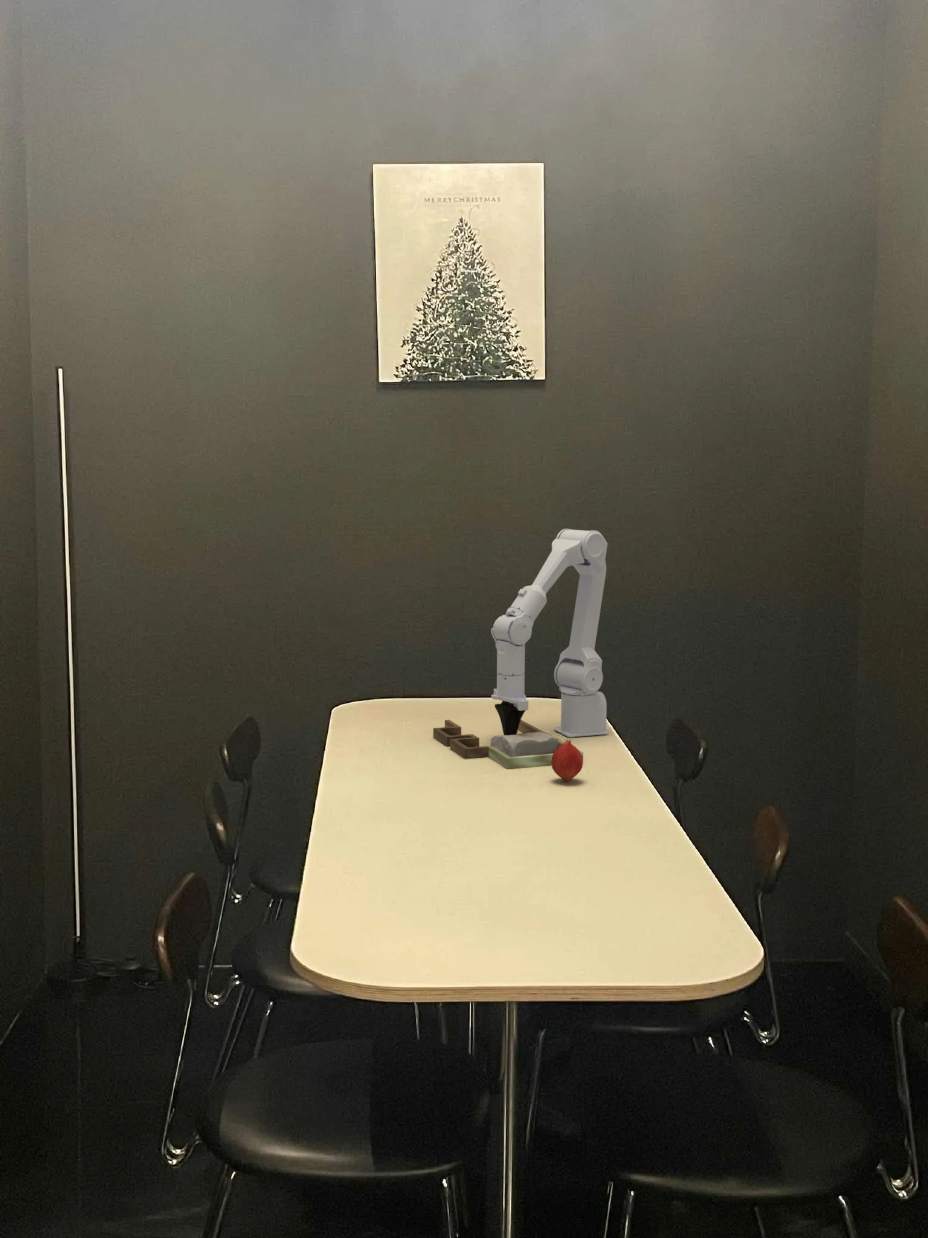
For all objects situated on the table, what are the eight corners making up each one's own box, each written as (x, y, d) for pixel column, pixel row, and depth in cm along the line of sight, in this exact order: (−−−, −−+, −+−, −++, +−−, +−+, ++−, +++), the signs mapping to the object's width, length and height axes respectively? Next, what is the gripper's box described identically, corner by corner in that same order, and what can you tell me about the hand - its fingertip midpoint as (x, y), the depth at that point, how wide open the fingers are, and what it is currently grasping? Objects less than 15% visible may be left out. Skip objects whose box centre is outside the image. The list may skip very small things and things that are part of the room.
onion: (545, 783, 220) (546, 740, 219) (558, 776, 226) (559, 734, 224) (575, 787, 218) (576, 743, 217) (587, 779, 223) (588, 737, 222)
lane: (512, 724, 270) (512, 715, 270) (583, 762, 236) (583, 752, 236) (423, 730, 263) (423, 721, 263) (482, 771, 229) (482, 760, 229)
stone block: (485, 759, 245) (514, 760, 237) (484, 736, 246) (512, 735, 237) (532, 754, 252) (562, 754, 244) (530, 731, 252) (560, 730, 244)
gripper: (480, 668, 254) (479, 732, 256) (505, 680, 240) (504, 747, 242) (511, 667, 256) (510, 729, 258) (538, 678, 243) (537, 744, 244)
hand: (510, 738), depth 250 cm, fingers closed
